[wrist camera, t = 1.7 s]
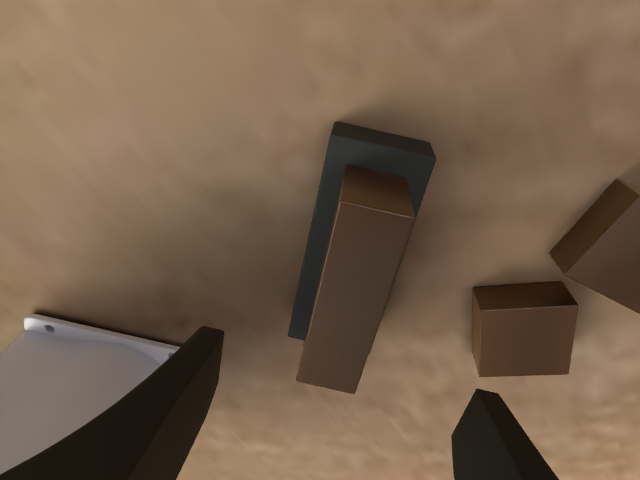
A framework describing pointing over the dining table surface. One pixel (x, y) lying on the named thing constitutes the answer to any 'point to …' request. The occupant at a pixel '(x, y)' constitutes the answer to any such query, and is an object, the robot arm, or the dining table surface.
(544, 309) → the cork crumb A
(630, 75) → the dining table surface
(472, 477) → the robot arm
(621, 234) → the brown flat block
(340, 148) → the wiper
